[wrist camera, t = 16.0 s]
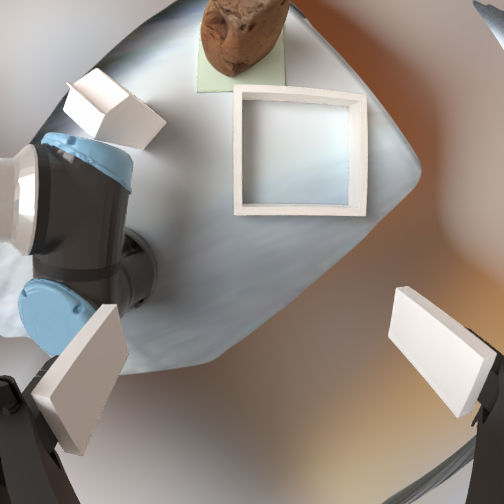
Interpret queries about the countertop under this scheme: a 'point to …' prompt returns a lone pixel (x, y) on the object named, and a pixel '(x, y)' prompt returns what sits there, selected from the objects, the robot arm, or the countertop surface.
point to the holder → (356, 148)
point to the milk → (111, 111)
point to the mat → (259, 74)
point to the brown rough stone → (241, 32)
